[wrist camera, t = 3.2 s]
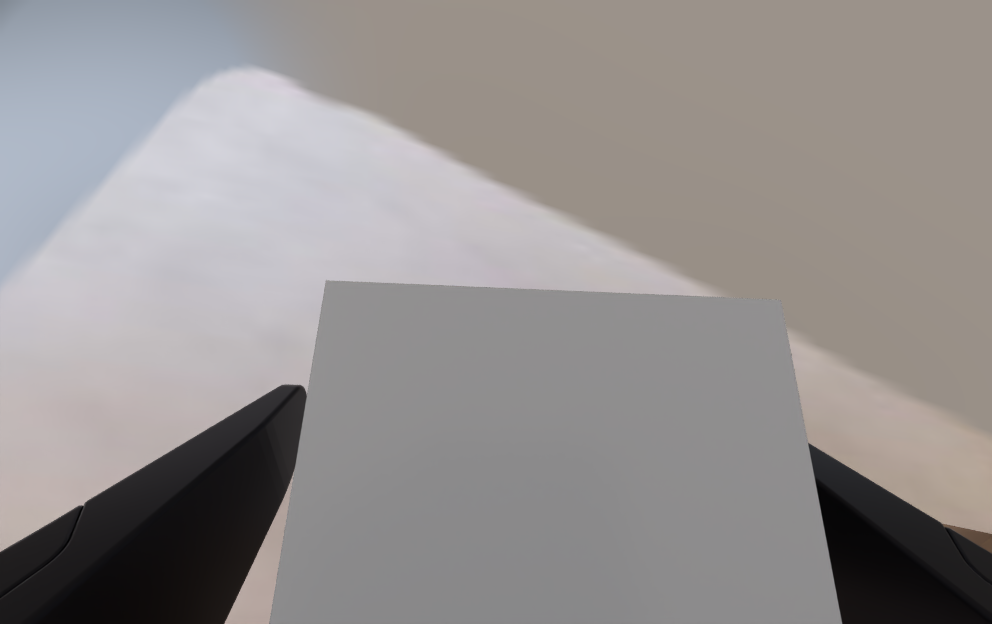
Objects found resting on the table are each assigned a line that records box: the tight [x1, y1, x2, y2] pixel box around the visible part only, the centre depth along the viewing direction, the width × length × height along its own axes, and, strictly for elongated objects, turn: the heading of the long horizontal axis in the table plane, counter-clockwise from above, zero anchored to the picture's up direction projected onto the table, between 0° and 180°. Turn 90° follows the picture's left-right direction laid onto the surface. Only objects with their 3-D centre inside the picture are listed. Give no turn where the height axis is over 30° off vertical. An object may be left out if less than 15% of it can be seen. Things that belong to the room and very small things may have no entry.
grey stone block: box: [269, 281, 842, 624], centre depth 9 cm, size 4×4×12 cm
